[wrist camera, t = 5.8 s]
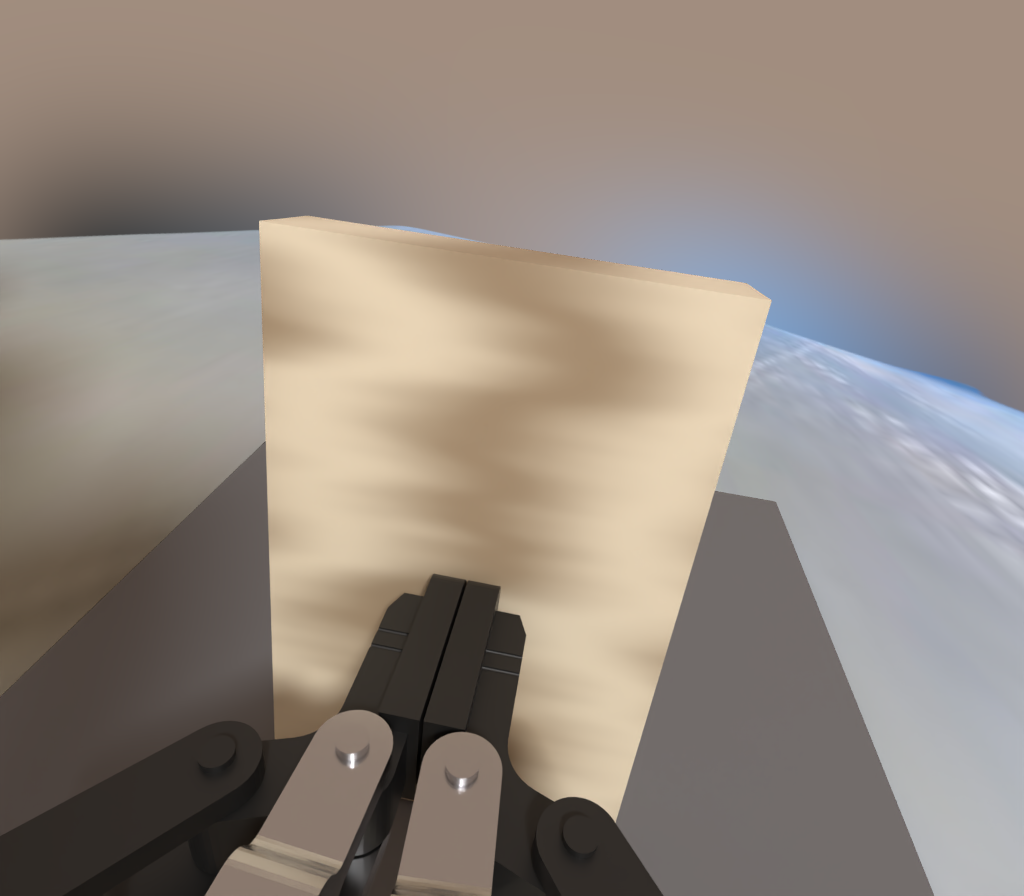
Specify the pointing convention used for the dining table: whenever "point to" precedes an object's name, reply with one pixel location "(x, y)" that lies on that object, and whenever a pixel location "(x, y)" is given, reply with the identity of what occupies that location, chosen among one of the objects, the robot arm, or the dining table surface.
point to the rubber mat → (249, 699)
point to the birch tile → (493, 466)
